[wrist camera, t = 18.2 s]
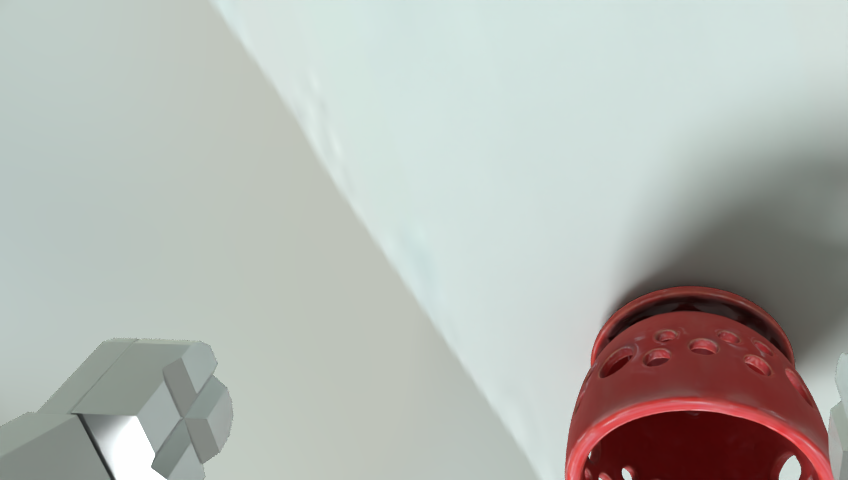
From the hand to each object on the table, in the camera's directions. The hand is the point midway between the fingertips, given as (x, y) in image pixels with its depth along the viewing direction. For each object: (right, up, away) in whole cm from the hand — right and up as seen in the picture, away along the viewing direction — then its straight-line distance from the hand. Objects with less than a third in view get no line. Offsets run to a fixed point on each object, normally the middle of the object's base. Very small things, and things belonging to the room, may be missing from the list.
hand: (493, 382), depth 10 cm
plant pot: (+15, -5, +37) cm, 40 cm away
